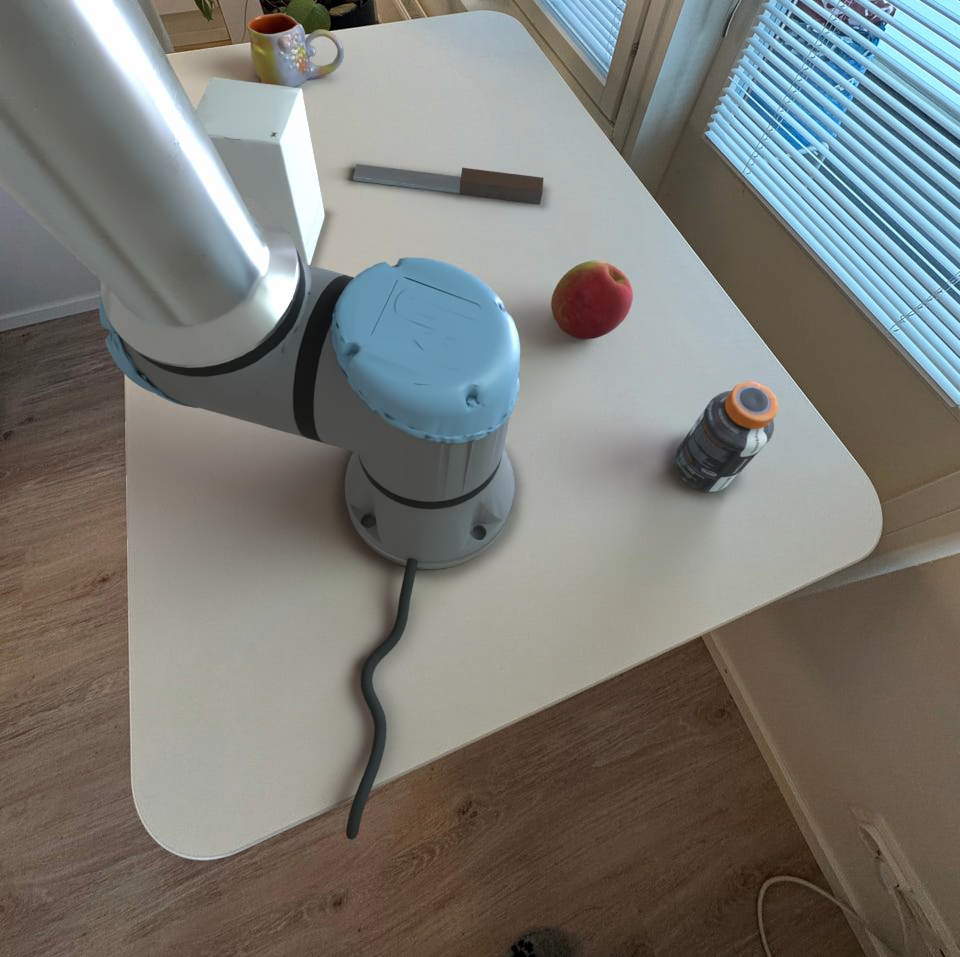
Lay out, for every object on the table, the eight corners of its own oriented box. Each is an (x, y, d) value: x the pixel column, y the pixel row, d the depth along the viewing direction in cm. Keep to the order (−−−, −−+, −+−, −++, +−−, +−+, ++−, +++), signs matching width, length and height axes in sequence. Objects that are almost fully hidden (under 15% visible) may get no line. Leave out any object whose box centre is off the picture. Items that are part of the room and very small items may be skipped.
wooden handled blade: (541, 190, 79) (543, 177, 77) (540, 204, 78) (542, 191, 76) (357, 167, 78) (355, 154, 77) (353, 181, 77) (351, 168, 75)
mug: (253, 90, 84) (239, 36, 78) (259, 60, 87) (247, 6, 81) (344, 95, 85) (338, 42, 79) (348, 65, 88) (342, 12, 82)
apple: (613, 362, 67) (635, 309, 60) (539, 343, 67) (552, 288, 60) (624, 310, 70) (646, 254, 63) (554, 292, 71) (568, 235, 64)
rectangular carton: (327, 214, 74) (305, 85, 61) (310, 270, 70) (282, 144, 57) (250, 204, 74) (210, 72, 61) (228, 259, 70) (181, 131, 56)
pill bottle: (738, 494, 61) (799, 432, 51) (677, 492, 60) (727, 429, 50) (726, 441, 63) (782, 372, 53) (668, 439, 63) (714, 369, 53)
